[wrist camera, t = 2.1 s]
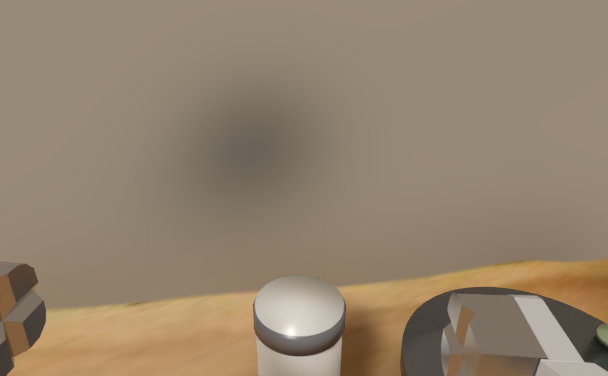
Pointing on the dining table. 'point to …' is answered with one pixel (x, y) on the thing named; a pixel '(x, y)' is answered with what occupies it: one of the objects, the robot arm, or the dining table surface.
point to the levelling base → (433, 313)
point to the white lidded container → (299, 327)
